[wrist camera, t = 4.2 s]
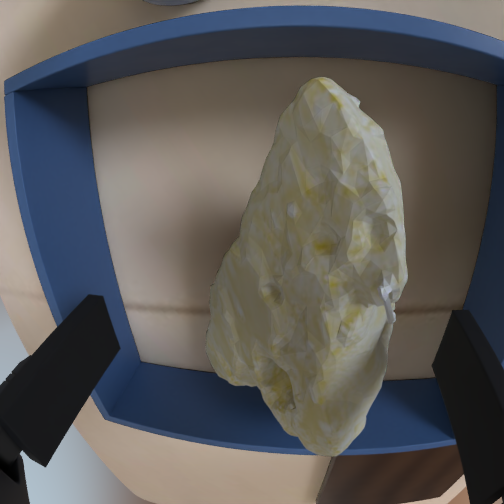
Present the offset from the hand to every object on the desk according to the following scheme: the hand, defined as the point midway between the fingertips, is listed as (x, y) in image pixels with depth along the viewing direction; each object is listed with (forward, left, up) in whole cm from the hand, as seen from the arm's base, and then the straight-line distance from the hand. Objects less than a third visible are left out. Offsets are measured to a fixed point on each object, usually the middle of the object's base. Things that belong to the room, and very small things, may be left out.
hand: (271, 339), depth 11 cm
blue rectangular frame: (0, 0, -7) cm, 7 cm away
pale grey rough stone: (0, 0, -8) cm, 8 cm away
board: (-14, +27, -7) cm, 31 cm away
